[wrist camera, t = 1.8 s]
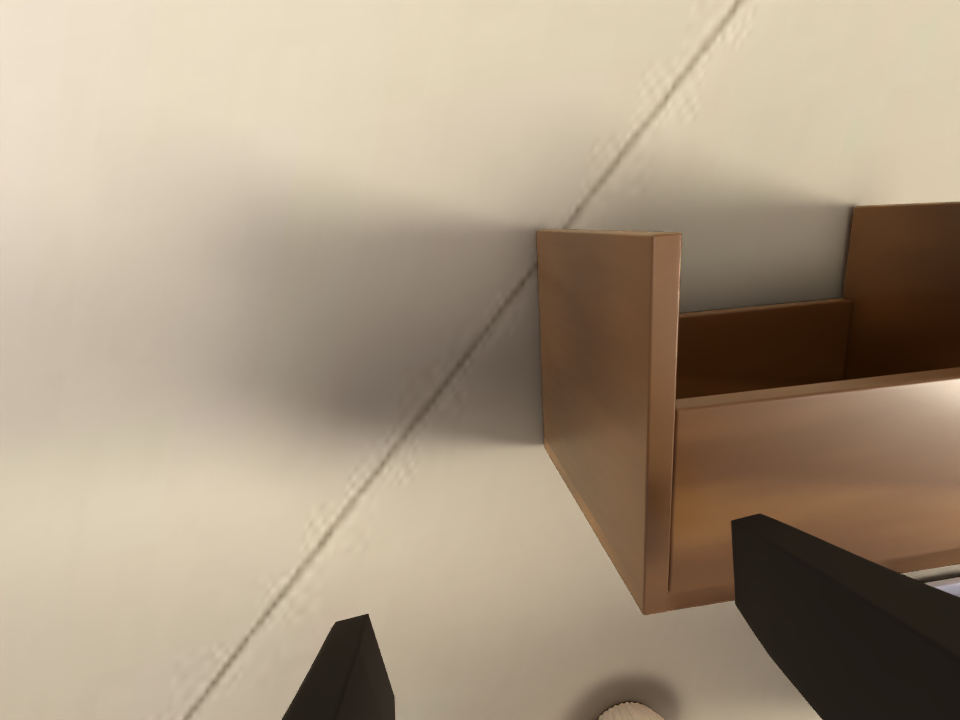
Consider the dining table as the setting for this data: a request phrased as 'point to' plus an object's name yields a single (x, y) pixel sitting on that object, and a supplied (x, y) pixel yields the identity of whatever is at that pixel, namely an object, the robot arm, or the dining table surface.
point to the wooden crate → (755, 403)
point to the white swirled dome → (630, 712)
